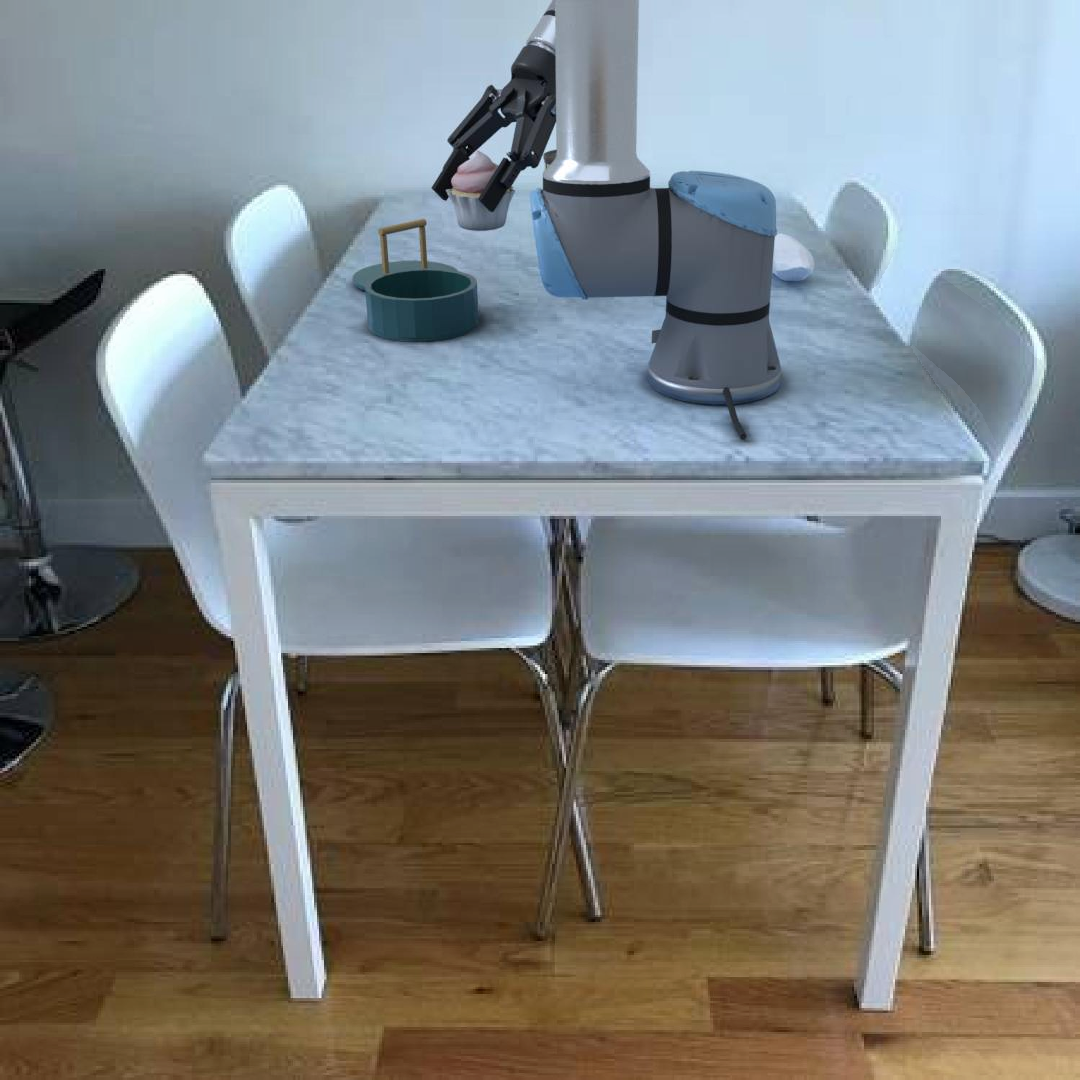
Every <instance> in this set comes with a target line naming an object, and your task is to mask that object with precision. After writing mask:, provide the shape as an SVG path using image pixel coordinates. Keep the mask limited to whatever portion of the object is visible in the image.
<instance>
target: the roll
mask: <svg viewBox="0 0 1080 1080" xmlns="http://www.w3.org/2000/svg"><path fill="white" fill-rule="evenodd" d="M814 269H815V259H814V257H813V256H812V253H811V252H810V251H809V250H808V248H806V247H805V246H804V245H803V244H802V243H801V242H800V241H798V240H797V239H795V238H794V237H792V236H790V235H788V234H785V233H777V235H776V236H775V242H774V255H773V268H772V274H774V275H775V276H776V277H777V278H779V279H780V280H782V281H786V282H801V281H802V282H803V281H804V280H805V279H808V277H810V276H811V275H813V273H814Z"/></svg>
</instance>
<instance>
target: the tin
mask: <svg viewBox="0 0 1080 1080" xmlns="http://www.w3.org/2000/svg"><path fill="white" fill-rule="evenodd" d="M364 292H365V293H364V294H365V304H366V315H367V317H366V318H367V326H368V329H369V331H370V333H372V334H374V335H375V336H377V337H379V338H383V339H386V340H390V341H398V342H408V343H409V342H410V343H411V342H412V343H422V342H423V343H424V342H426V343H427V342H436V341H443V340H449V339H454V338H458V337H461V336H463V335H466V334H468V333H470V332H472V331H473V330H475V329H476V328H477V327H478V325H479V320H480V317H479V295H478V281H477V278H476V277H474V276H473V275H471V274H469V273H466V272H463V271H459V270H458V271H453V270H446V269H428V268H427V269H409V270H402V271H395V272H391V273H387V274H383V275H379V276H377V277H375V278H372V279H371V280H370V281H368V282H367V283H366V284H365V290H364Z"/></svg>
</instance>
